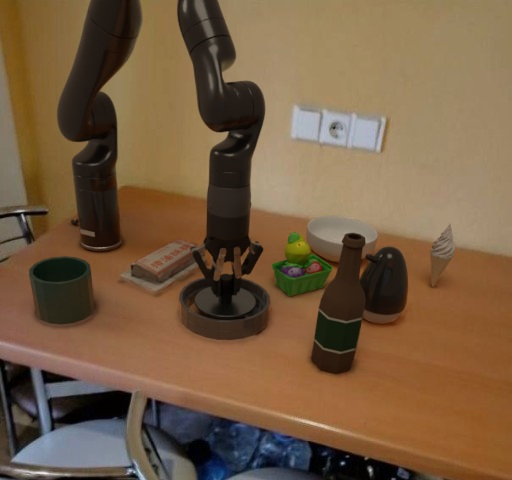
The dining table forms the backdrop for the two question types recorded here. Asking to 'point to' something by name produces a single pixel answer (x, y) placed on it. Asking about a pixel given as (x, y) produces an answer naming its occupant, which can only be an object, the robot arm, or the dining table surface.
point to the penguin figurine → (385, 285)
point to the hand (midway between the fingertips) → (225, 294)
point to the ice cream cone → (441, 254)
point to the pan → (224, 327)
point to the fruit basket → (300, 268)
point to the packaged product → (162, 266)
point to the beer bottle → (341, 311)
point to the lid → (225, 301)
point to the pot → (62, 290)
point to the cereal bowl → (337, 235)
